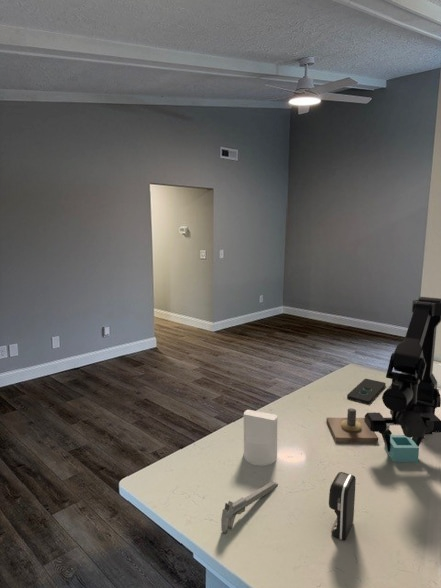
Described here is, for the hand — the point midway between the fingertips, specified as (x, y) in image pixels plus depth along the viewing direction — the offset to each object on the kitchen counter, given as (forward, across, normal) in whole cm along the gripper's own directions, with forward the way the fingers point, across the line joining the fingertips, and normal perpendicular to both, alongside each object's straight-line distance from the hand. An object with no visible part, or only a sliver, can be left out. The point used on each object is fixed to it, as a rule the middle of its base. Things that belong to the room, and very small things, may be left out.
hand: (400, 451), depth 109 cm
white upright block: (+1, -38, -1) cm, 38 cm away
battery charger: (+1, -23, -27) cm, 35 cm away
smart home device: (+2, +4, +41) cm, 41 cm away
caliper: (+2, -41, -21) cm, 46 cm away
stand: (+1, -10, +12) cm, 16 cm away
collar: (+1, 0, 0) cm, 1 cm away
